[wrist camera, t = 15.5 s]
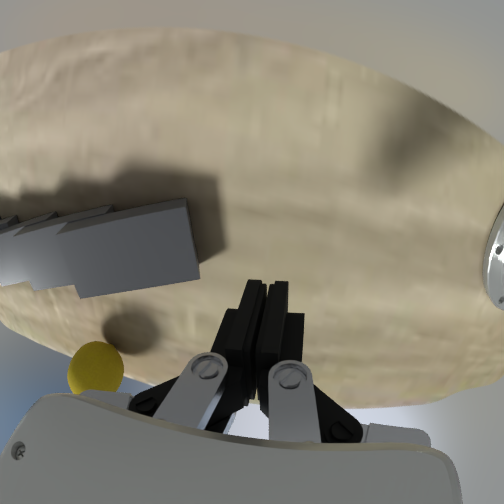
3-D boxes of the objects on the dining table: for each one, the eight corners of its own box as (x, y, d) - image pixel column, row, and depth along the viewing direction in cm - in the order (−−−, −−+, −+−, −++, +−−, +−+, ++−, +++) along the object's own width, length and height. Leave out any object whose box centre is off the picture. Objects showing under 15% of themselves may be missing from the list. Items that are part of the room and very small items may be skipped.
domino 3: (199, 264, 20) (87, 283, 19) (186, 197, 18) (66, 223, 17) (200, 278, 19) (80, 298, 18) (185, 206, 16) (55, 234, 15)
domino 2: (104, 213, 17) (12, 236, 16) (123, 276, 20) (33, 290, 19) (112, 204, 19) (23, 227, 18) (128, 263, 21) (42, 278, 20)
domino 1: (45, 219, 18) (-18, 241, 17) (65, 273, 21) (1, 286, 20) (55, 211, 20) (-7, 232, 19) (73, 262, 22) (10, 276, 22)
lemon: (94, 317, 25) (53, 372, 18) (139, 345, 26) (105, 407, 19) (90, 344, 28) (56, 395, 21) (130, 369, 29) (102, 423, 22)
